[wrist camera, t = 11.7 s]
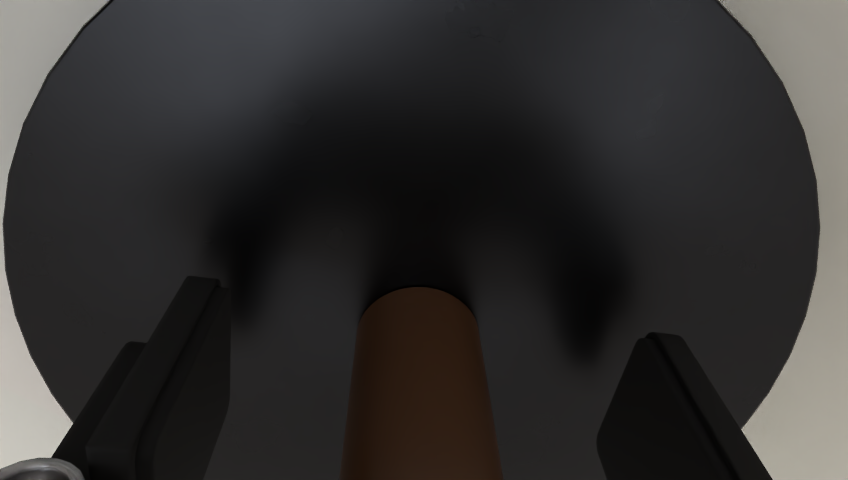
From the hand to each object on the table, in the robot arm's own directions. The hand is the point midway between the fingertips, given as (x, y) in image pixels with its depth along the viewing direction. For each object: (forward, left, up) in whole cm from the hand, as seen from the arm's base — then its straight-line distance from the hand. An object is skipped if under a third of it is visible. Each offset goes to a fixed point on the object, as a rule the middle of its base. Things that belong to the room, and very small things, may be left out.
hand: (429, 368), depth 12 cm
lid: (0, 0, -2) cm, 2 cm away
